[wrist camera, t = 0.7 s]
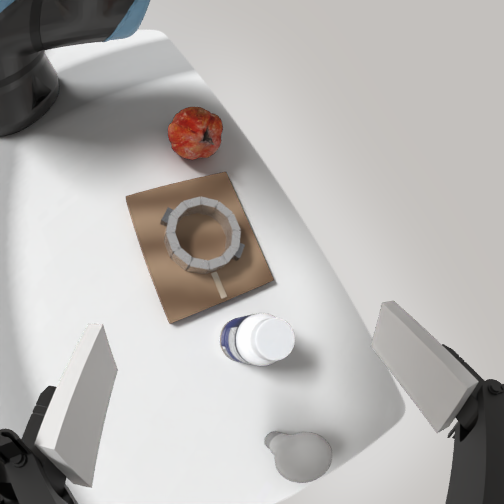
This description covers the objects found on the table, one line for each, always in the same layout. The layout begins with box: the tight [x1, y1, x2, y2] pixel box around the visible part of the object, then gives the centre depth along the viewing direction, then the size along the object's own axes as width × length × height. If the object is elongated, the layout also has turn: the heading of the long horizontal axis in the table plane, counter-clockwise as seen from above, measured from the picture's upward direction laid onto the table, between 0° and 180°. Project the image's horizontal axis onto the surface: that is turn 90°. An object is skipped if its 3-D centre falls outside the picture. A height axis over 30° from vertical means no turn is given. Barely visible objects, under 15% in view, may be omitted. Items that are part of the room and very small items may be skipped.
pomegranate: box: [168, 107, 223, 160], centre depth 35 cm, size 7×7×10 cm
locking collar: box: [160, 197, 245, 274], centre depth 33 cm, size 8×8×2 cm
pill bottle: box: [219, 313, 295, 366], centre depth 29 cm, size 5×5×10 cm
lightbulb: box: [265, 431, 332, 483], centre depth 26 cm, size 6×6×11 cm
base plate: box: [126, 172, 274, 324], centre depth 34 cm, size 16×14×1 cm
